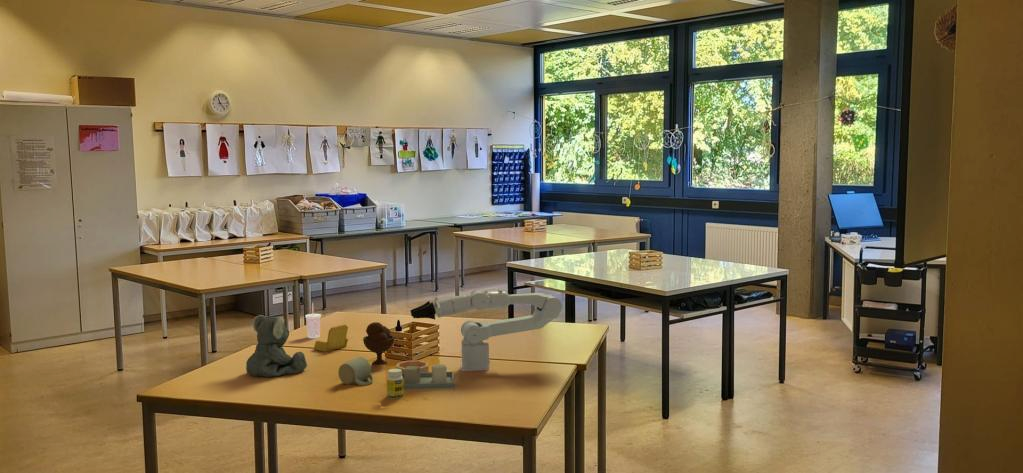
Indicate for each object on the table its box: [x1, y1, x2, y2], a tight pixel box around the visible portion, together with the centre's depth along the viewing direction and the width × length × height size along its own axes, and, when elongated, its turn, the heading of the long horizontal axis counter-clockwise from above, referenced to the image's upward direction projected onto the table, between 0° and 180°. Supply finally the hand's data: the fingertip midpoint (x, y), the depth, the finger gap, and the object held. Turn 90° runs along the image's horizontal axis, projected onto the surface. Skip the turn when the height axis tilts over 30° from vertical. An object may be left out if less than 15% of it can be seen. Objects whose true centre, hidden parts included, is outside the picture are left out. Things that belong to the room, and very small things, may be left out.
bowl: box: [395, 360, 430, 373], centre depth 260 cm, size 11×11×3 cm
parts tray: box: [401, 371, 455, 392], centre depth 249 cm, size 17×17×2 cm
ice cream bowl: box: [362, 321, 395, 366], centre depth 272 cm, size 11×11×15 cm
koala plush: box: [245, 314, 308, 378], centre depth 263 cm, size 17×18×20 cm
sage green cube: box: [431, 363, 448, 383], centre depth 249 cm, size 4×4×5 cm
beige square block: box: [404, 366, 420, 384], centre depth 247 cm, size 4×4×5 cm
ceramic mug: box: [338, 356, 374, 386], centre depth 249 cm, size 11×8×8 cm
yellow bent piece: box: [313, 323, 349, 352], centre depth 296 cm, size 10×10×9 cm
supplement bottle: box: [386, 368, 404, 400], centre depth 234 cm, size 5×5×8 cm
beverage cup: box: [305, 302, 322, 339], centre depth 314 cm, size 6×6×14 cm
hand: (411, 314), depth 260 cm, fingers open, 7 cm apart
